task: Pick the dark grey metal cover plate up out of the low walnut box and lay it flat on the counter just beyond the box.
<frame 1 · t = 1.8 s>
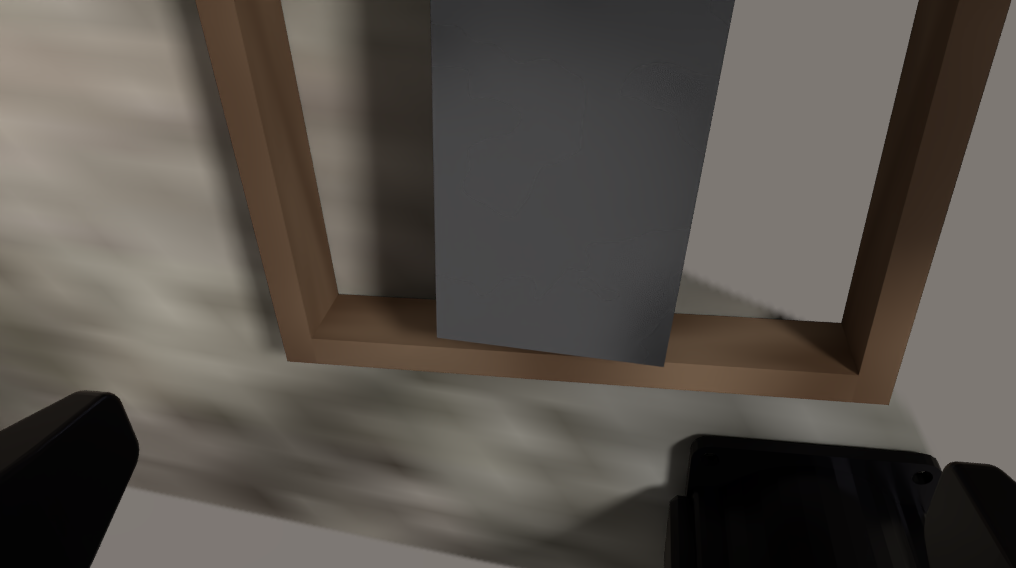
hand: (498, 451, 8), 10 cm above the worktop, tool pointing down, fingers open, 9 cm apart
walnut box: (578, 103, 17), on the worktop
cover plate: (579, 98, 17), resting in walnut box
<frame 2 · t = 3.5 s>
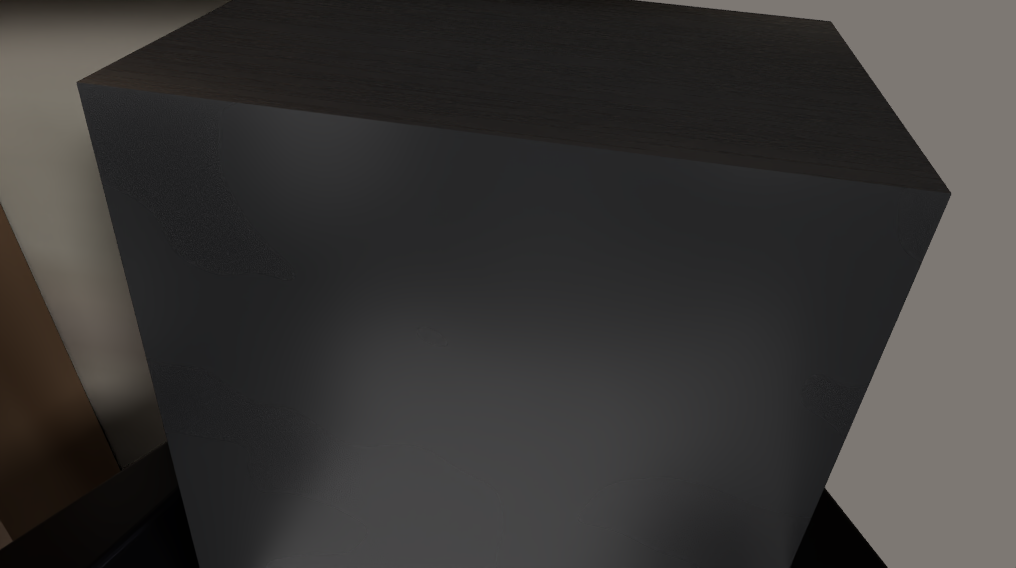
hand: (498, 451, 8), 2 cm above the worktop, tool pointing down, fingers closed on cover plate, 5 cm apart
walnut box: (521, 365, 10), on the worktop
cover plate: (521, 361, 10), resting in walnut box, touching gripper
when the fingers open (3 cm above the worktop, at t = 8.3 s): cover plate drops 2 cm, on the worktop.
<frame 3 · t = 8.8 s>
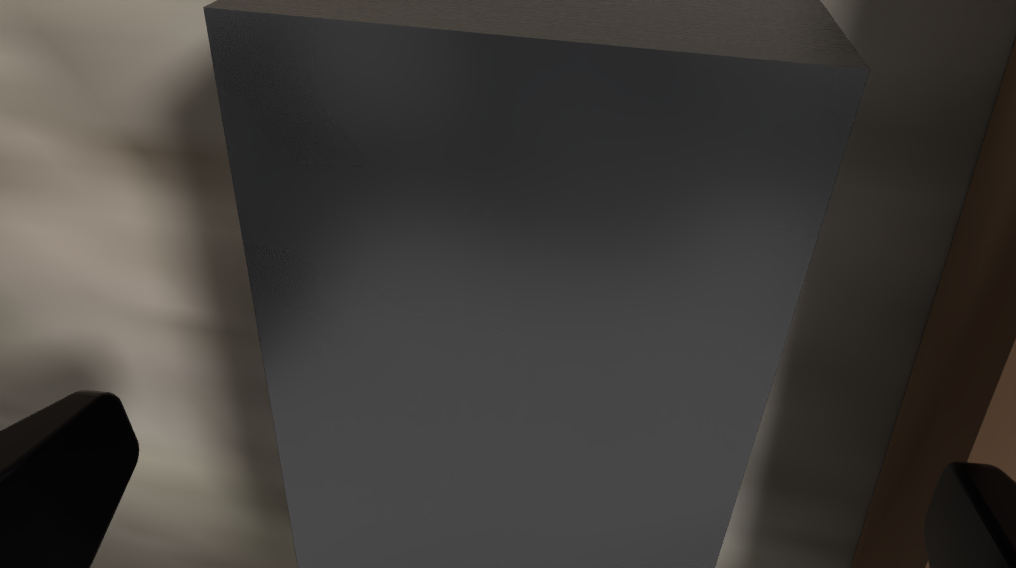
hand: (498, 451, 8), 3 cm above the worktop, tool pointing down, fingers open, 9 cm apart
cover plate: (539, 284, 11), on the worktop
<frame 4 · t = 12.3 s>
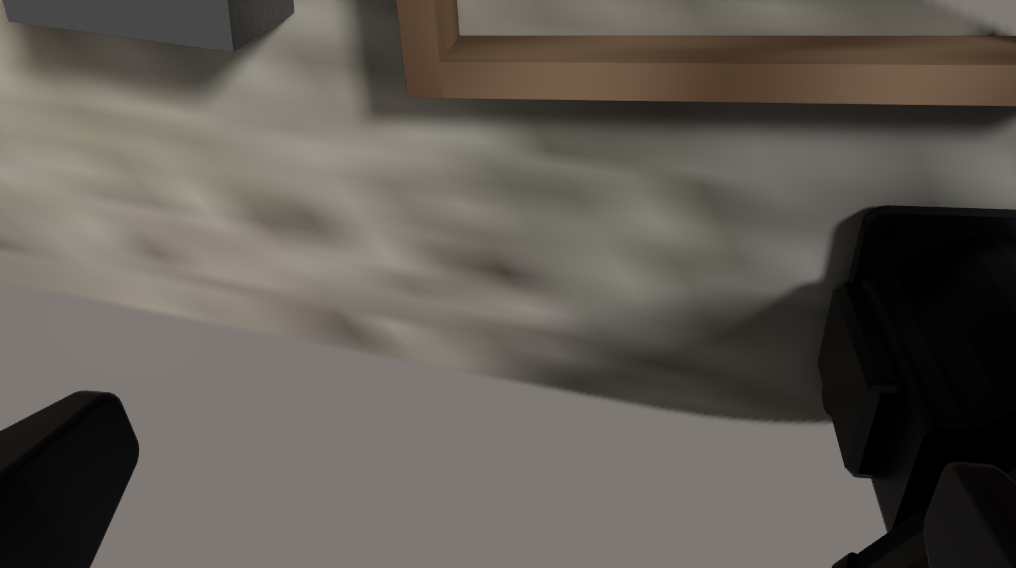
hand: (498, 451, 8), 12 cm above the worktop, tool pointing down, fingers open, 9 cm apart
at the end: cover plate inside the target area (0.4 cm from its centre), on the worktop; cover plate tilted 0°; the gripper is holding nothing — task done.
